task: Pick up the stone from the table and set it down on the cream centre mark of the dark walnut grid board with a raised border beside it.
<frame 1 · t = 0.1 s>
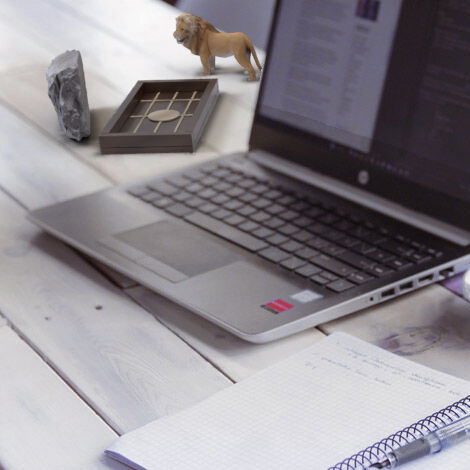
board: (165, 125, 122), on the table
stone: (77, 132, 121), on the table
lion figurine: (222, 78, 139), on the table
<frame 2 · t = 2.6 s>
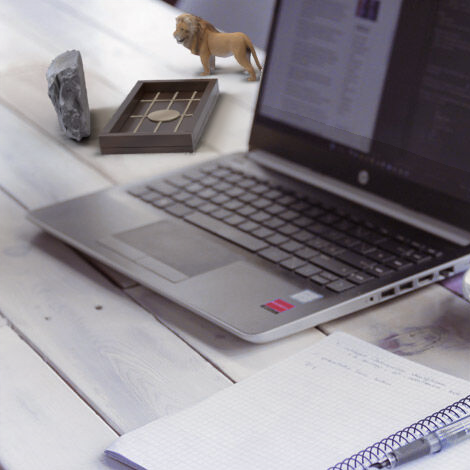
nothing on the table moved.
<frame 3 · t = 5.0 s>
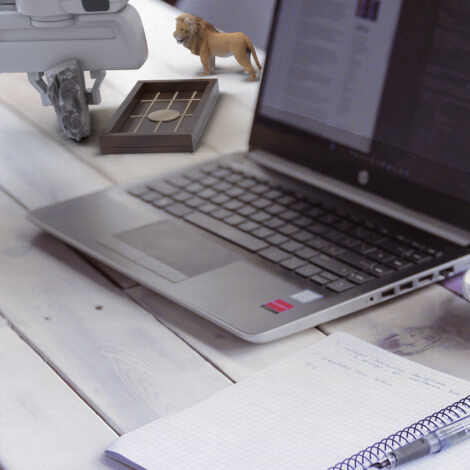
hand: (72, 104, 119), 4 cm above the table, tool pointing down, fingers closed on stone, 4 cm apart
stone: (76, 132, 121), on the table, touching gripper
everything else where it was.
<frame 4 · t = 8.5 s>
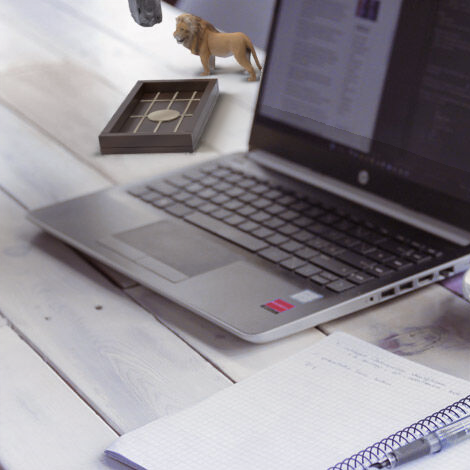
stone: (146, 24, 116), point 13 cm above the table, touching gripper
everything else where it was.
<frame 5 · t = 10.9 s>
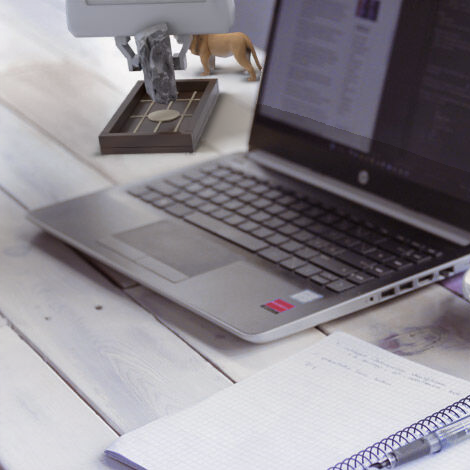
hand: (158, 69, 118), 7 cm above the table, tool pointing down, fingers closed on stone, 4 cm apart
stone: (161, 98, 120), point 4 cm above the table, touching gripper
everything else where it was.
when the fingers open (5 cm above the table, at t = 12.1 s): stone stays where it is, resting on board.
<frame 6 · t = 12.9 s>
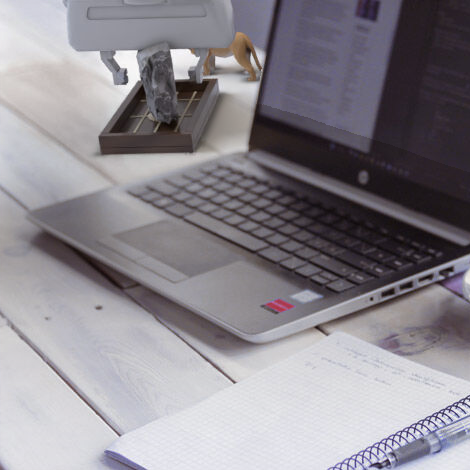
hand: (158, 83, 119), 6 cm above the table, tool pointing down, fingers open, 8 cm apart
stone: (163, 116, 121), point 1 cm above the table, touching board
everything else where it was.
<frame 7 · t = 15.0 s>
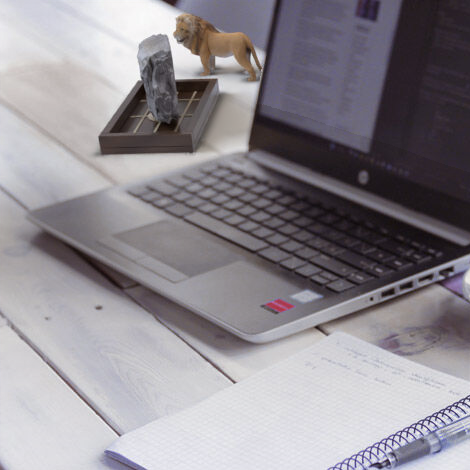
nothing on the table moved.
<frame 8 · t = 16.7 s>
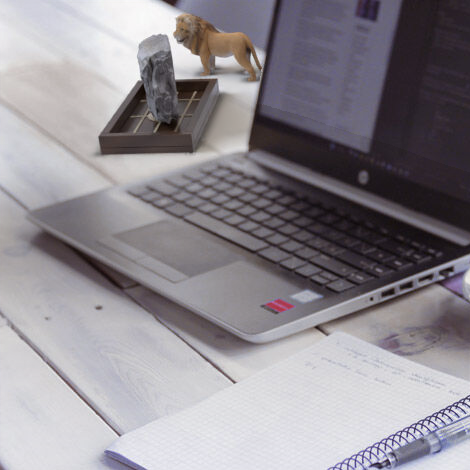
nothing on the table moved.
at the end: stone inside the target area on the board (0.1 cm from its centre), point 1.2 cm above the board's base; the gripper is holding nothing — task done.
